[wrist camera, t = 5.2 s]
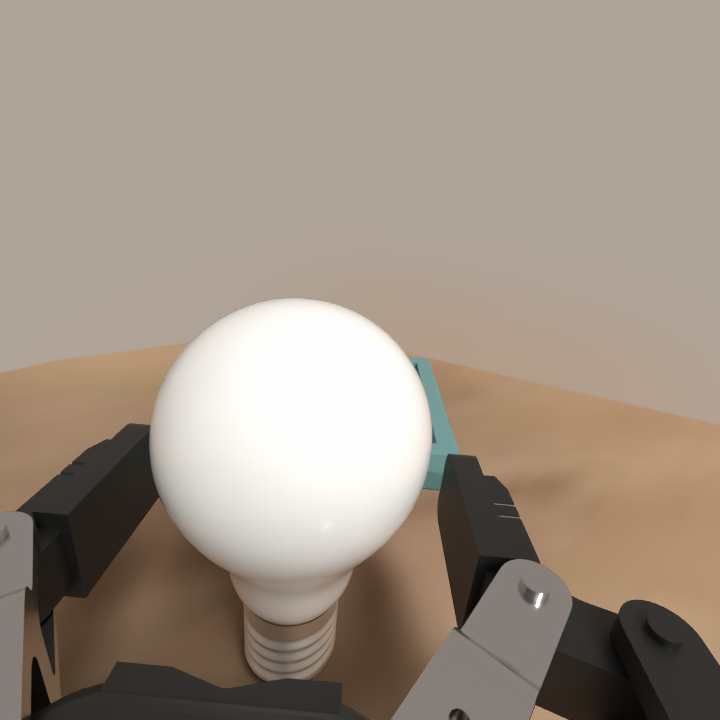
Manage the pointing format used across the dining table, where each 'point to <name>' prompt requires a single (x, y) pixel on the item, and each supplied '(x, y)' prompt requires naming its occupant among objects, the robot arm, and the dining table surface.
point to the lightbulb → (290, 463)
